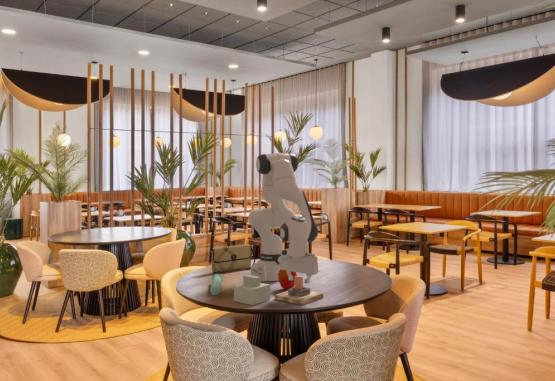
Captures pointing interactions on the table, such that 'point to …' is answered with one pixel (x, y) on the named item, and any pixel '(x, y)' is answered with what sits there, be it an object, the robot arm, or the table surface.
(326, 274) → the table surface
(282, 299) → the socket plate
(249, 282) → the housing
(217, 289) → the pale green rod
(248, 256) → the clutch purse
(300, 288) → the pin
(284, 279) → the apple
